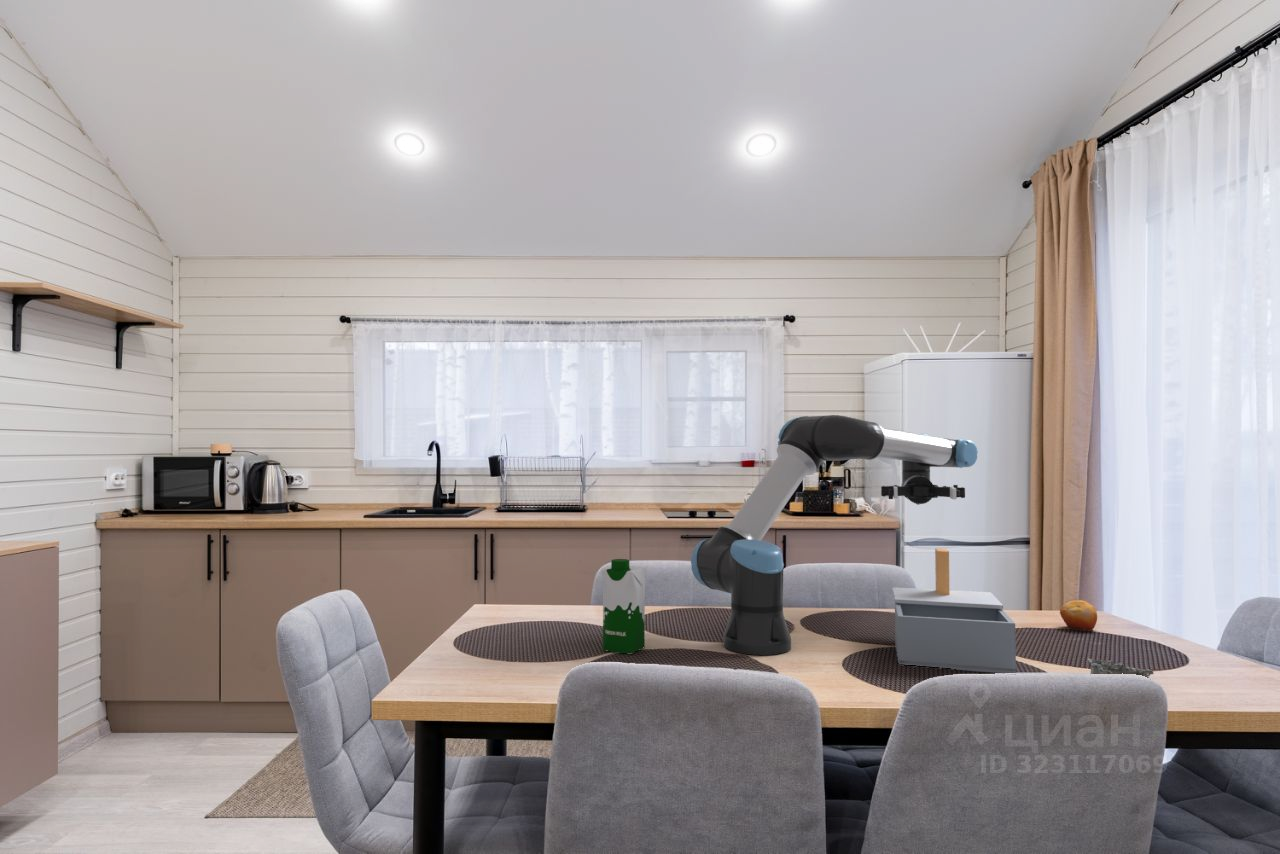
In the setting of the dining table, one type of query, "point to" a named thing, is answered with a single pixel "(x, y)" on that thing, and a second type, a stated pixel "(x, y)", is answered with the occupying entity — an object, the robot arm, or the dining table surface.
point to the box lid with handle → (945, 590)
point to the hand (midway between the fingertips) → (925, 493)
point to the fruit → (1079, 615)
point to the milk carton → (623, 607)
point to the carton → (955, 637)
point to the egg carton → (1115, 668)
